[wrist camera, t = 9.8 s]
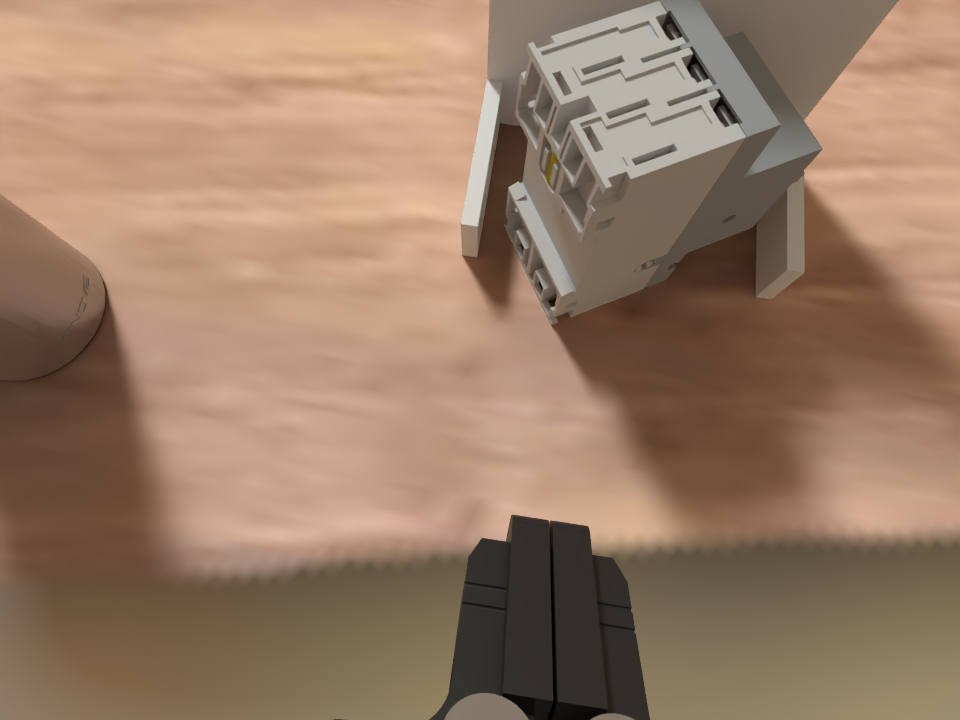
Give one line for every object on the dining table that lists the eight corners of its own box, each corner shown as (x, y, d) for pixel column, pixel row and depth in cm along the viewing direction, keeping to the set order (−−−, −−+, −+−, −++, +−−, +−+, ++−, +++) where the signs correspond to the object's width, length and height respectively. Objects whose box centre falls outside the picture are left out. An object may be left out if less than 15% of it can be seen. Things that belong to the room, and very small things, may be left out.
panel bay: (462, 255, 38) (450, -27, 19) (488, 107, 42) (500, -258, 23) (771, 299, 38) (1078, 52, 19) (772, 145, 41) (1033, -198, 22)
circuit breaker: (748, 248, 39) (909, 77, 24) (551, 325, 37) (599, 190, 23) (694, 157, 41) (813, -50, 26) (504, 226, 39) (522, 45, 25)
